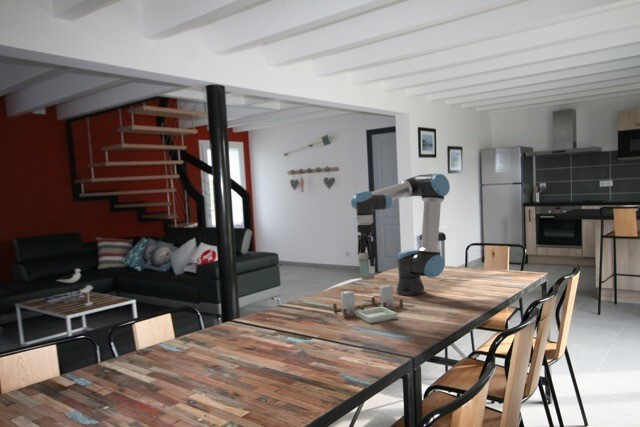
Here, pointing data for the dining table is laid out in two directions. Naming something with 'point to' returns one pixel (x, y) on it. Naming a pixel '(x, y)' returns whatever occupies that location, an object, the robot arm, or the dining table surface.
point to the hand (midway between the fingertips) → (367, 271)
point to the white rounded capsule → (348, 302)
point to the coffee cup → (365, 266)
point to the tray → (376, 314)
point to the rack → (365, 306)
